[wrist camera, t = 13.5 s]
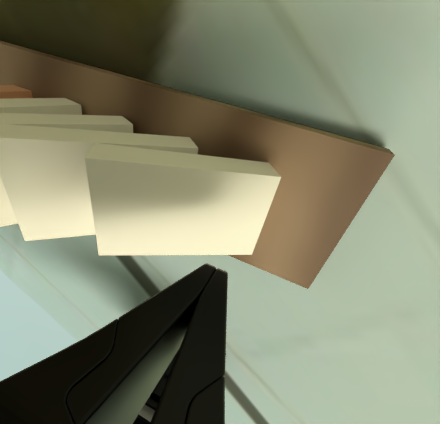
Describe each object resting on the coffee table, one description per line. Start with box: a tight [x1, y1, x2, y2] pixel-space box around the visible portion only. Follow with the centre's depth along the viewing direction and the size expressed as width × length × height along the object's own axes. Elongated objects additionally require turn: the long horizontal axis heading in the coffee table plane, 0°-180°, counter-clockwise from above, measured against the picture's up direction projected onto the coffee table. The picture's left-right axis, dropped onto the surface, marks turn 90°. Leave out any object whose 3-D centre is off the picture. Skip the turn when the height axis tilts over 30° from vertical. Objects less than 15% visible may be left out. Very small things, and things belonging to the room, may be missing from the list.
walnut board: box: [0, 41, 394, 289], centre depth 15 cm, size 26×9×1 cm, turn 76°
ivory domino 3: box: [0, 124, 198, 241], centre depth 12 cm, size 2×5×8 cm
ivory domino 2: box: [0, 113, 133, 227], centre depth 12 cm, size 2×5×8 cm, turn 168°
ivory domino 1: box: [0, 98, 82, 115], centre depth 12 cm, size 2×5×8 cm, turn 168°
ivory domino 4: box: [85, 143, 281, 255], centre depth 11 cm, size 2×5×8 cm
